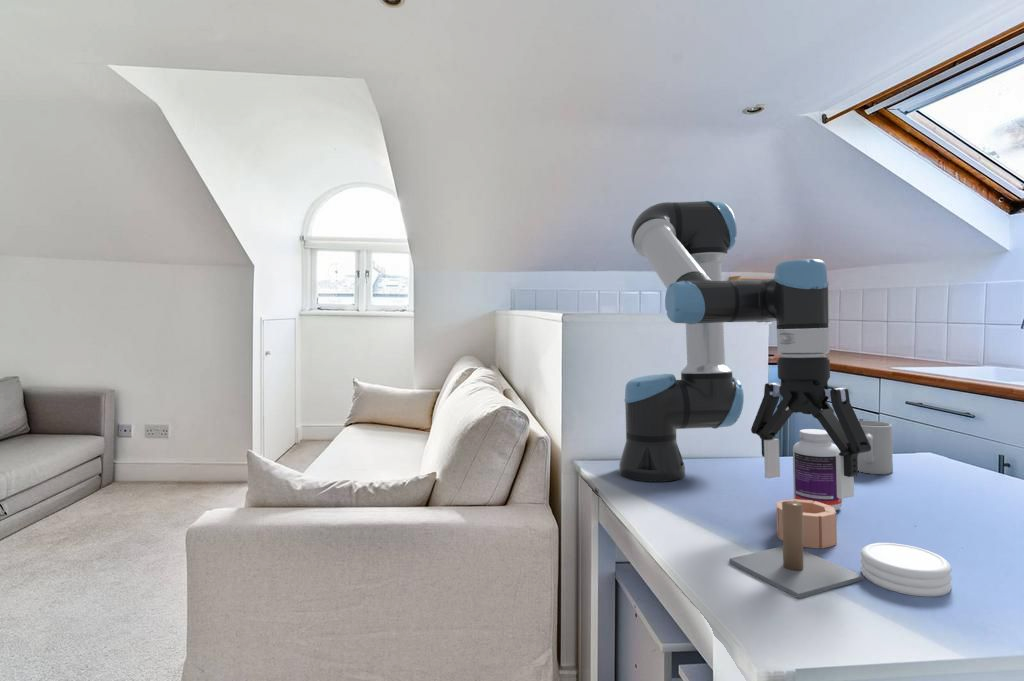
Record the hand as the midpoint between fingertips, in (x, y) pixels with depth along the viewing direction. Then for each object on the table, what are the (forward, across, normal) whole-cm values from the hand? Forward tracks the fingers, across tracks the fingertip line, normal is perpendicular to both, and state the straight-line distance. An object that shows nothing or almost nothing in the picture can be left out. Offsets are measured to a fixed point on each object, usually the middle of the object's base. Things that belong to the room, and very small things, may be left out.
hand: (806, 486), depth 90 cm
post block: (+9, +8, -12) cm, 16 cm away
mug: (+8, -22, +47) cm, 53 cm away
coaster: (+9, +16, -1) cm, 18 cm away
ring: (+8, 0, 0) cm, 9 cm away
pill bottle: (+8, -10, +15) cm, 20 cm away
